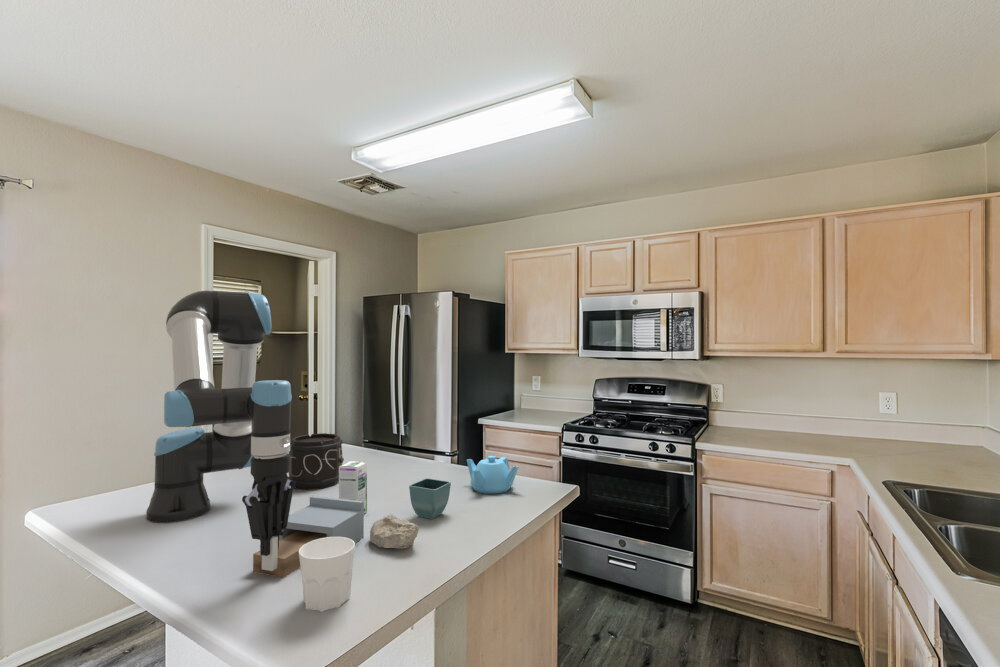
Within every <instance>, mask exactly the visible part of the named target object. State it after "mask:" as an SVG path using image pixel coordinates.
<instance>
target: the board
mask: <svg viewBox="0 0 1000 667" xmlns="http://www.w3.org/2000/svg"><path fill="white" fill-rule="evenodd" d="M326 537H327V534H325V533H318V532H310V531H302V530H297V531H295V532H293V533H291V534H290V535H288V536H286V537H284V538H282V539H280V540H279V549H278V564H277V569H275V570H273V571H269V570H263V569H262V555H261V554H260V550H258V551H256V552H255V553H253V555H252V573H256V574H261V575H268V576H274V577H279V578H286V577H287V576H289V575H290V574H292V573H294V572H295V571H297V570H298V569H301V567H300V558H299V549H300V548H301V547H302V546H303V545H304V544H306V543H308V542H311V541H313V540H316V539H320V538H326Z"/></svg>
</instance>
